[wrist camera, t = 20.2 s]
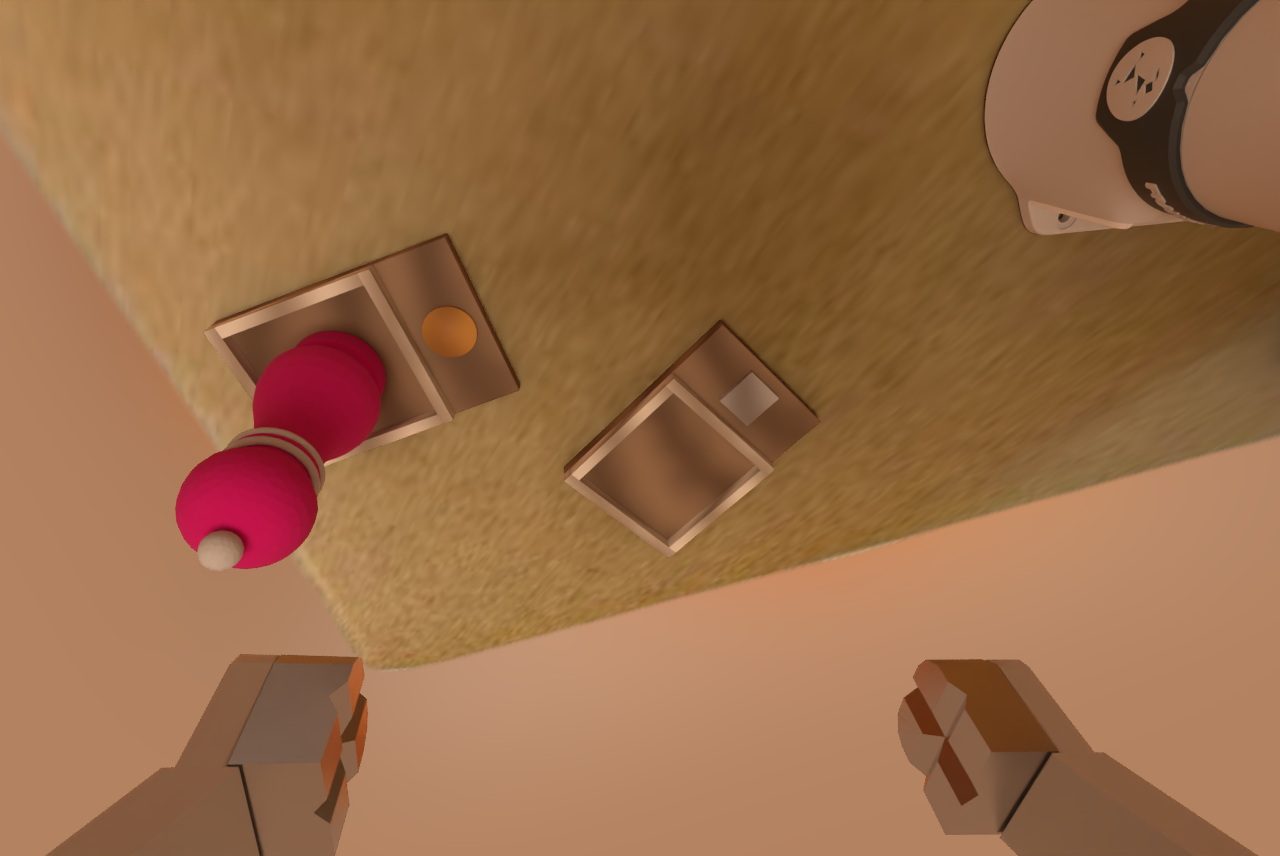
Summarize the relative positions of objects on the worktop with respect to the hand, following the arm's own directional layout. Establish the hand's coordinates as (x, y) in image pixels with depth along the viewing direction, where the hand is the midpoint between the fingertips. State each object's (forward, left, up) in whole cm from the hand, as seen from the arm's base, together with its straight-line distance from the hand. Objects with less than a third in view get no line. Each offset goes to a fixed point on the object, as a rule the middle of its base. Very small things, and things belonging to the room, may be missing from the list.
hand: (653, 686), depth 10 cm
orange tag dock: (+13, +12, -39) cm, 43 cm away
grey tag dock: (-10, +18, -39) cm, 44 cm away
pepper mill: (+15, +13, -38) cm, 43 cm away
